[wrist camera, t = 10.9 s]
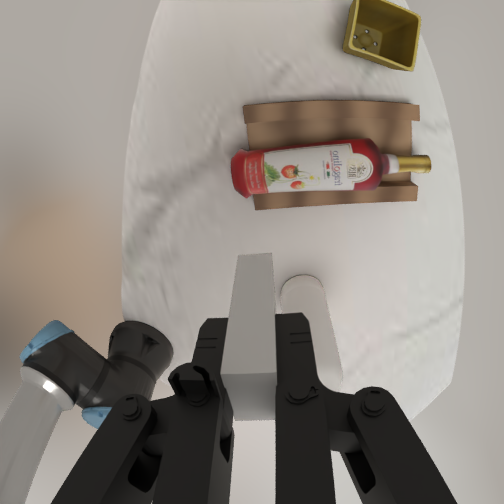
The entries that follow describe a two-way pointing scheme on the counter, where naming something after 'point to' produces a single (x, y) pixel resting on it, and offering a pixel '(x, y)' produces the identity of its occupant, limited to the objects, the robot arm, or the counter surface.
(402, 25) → the flower pot
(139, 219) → the counter surface
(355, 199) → the rest
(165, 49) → the counter surface
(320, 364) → the bottle
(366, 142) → the liquor
